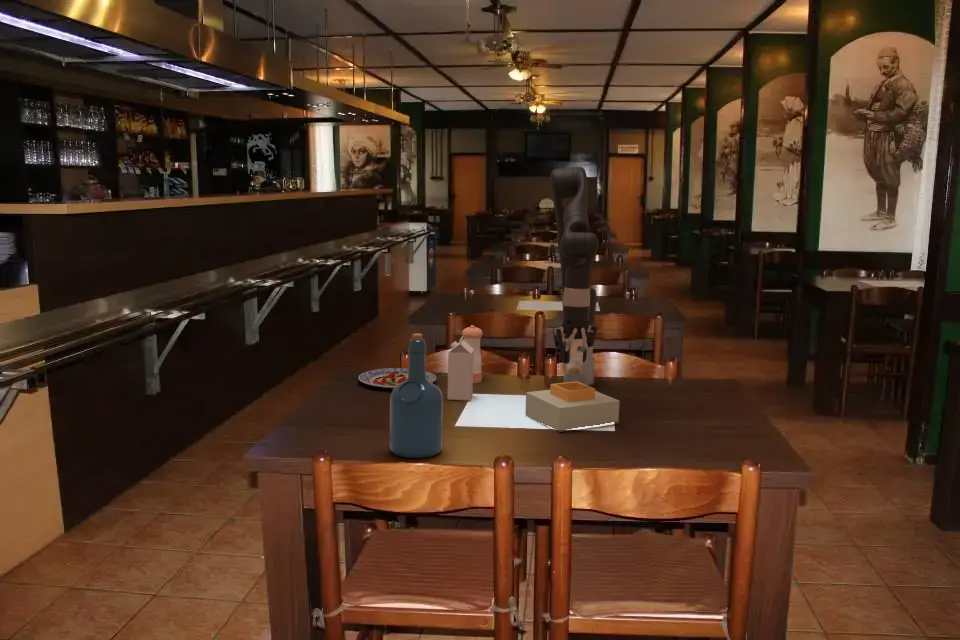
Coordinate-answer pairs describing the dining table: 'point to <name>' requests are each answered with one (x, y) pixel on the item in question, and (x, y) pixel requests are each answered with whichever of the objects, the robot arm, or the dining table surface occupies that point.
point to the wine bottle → (416, 409)
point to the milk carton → (460, 371)
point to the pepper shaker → (473, 339)
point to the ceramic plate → (389, 377)
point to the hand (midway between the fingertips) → (573, 362)
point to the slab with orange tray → (571, 406)
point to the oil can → (575, 357)
